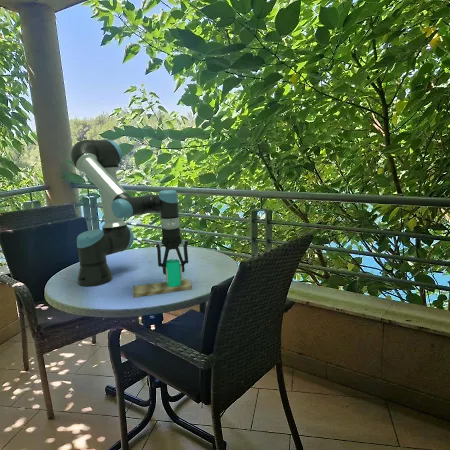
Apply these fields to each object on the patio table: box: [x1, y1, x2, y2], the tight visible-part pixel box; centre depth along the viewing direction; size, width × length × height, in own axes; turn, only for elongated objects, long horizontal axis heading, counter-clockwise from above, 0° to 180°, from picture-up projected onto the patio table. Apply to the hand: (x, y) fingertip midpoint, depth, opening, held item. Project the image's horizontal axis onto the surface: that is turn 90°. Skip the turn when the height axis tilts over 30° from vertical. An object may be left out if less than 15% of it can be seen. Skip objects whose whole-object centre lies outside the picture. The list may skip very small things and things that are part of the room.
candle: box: [166, 258, 181, 287], centre depth 144 cm, size 6×6×12 cm
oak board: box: [132, 278, 193, 298], centre depth 144 cm, size 24×9×2 cm, turn 106°
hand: (174, 280), depth 145 cm, fingers closed on candle, 5 cm apart
